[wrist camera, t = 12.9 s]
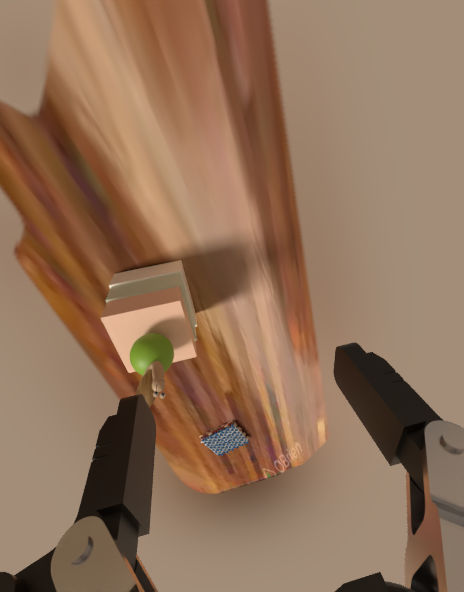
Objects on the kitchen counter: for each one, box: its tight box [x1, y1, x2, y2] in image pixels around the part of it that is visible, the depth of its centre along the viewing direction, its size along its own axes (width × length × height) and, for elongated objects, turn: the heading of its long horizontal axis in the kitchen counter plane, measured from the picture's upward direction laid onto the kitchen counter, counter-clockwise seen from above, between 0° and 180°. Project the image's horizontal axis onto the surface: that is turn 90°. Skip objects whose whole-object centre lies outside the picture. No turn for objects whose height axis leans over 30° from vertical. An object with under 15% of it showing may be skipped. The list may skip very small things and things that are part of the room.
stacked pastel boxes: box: [101, 260, 197, 373], centre depth 41 cm, size 11×11×12 cm
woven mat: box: [199, 420, 249, 456], centre depth 70 cm, size 10×11×2 cm
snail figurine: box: [130, 333, 174, 408], centre depth 31 cm, size 5×6×12 cm
